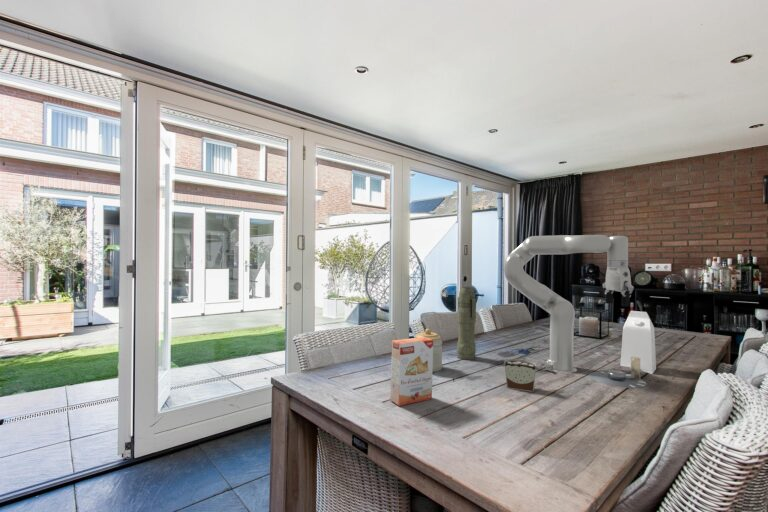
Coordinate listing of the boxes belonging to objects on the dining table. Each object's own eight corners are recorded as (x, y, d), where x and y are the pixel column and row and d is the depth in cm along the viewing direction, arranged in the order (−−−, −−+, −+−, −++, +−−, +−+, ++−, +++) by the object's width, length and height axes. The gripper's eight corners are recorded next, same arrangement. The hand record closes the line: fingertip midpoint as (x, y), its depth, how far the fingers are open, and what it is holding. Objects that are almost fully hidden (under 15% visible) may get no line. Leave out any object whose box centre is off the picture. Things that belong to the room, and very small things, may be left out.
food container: (538, 387, 142) (538, 361, 142) (537, 392, 136) (537, 365, 136) (504, 382, 147) (505, 357, 147) (502, 387, 142) (503, 361, 142)
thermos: (469, 361, 177) (470, 288, 177) (451, 356, 186) (452, 286, 187) (481, 358, 182) (482, 287, 182) (463, 353, 191) (464, 286, 192)
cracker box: (399, 407, 121) (400, 343, 121) (389, 401, 126) (390, 339, 126) (433, 399, 128) (433, 339, 128) (422, 393, 133) (423, 335, 134)
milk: (656, 368, 169) (656, 311, 169) (652, 374, 161) (652, 314, 161) (625, 363, 177) (625, 309, 178) (620, 368, 169) (620, 311, 169)
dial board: (610, 391, 138) (610, 387, 138) (578, 374, 158) (578, 371, 158) (660, 390, 140) (660, 386, 140) (622, 374, 160) (622, 370, 160)
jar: (446, 367, 167) (447, 328, 167) (434, 374, 156) (435, 332, 156) (421, 362, 174) (421, 325, 174) (407, 369, 163) (408, 329, 163)
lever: (614, 380, 146) (614, 359, 146) (604, 375, 152) (604, 355, 152) (644, 379, 147) (645, 359, 147) (633, 375, 153) (633, 355, 153)
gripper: (641, 265, 150) (641, 307, 150) (611, 264, 167) (611, 302, 167) (623, 265, 149) (623, 307, 149) (595, 264, 166) (595, 302, 166)
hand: (617, 304), depth 158 cm, fingers open, 9 cm apart
